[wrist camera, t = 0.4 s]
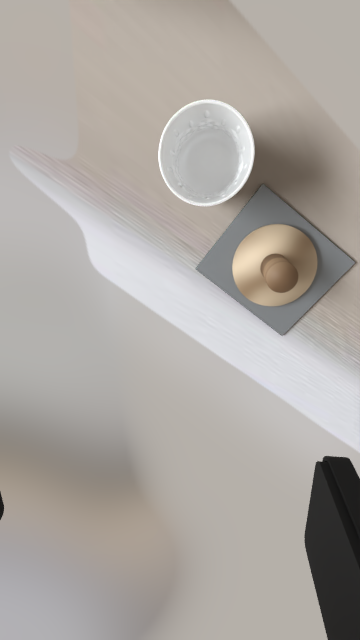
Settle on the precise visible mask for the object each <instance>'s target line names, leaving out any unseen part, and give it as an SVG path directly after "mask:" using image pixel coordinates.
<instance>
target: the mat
mask: <svg viewBox="0 0 360 640" xmlns="http://www.w3.org/2000/svg"><path fill="white" fill-rule="evenodd" d="M270 224H284V225H289V226H291V227H294V228H296V229H298V230H300V231H301V232H303V233H304V234H305V235H306V236H307V237H308V238H309V239H310V241H311V242H312V244H313V245H314V248H315V250H316V254H317V271H316V275H315V277H314V280H313V282H312V284H311V285H310V287H309V288H308V289H307V290H306V292H305V293H303V294H302V295H301V296H300V297H299V298H297V299H296V300H294V301H292V302H290V303H287V304H284V305H280V306H263V305H259V304H256V303H254V302H252V301H250V300H249V299H247V298H246V297H245V296H244V295H243V294H242V293H241V292H240V290H239V289H238V287H237V285H236V283H235V280H234V277H233V271H232V264H233V258H234V254H235V252H236V249H237V248H238V246H239V244H240V243H241V241H242V240H243V239H244V238H245V237H246V236H247V235H248V234H250V233H251V232H252V231H254V230H256V229H258V228H260V227H263V226H266V225H270ZM354 263H355V262H354V261H353V260H352V259H351V258H349V257H348V256H347V255H346V254H345V253H344V252H342V251H341V250H340V249H339V248H338V247H337V246H335V245H334V244H333V243H332V242H331V241H330V240H328V239H327V238H326V237H325V236H324V235H323V234H321V233H320V232H319V231H318V230H317V229H315V228H314V227H313V226H312V225H311V224H310V223H308V222H307V221H306V220H305V219H304V218H303V217H301V216H300V215H299V214H298V213H297V212H296V211H294V210H293V209H292V208H291V207H290V206H289V205H287V204H286V203H285V202H284V201H283V200H281V199H280V198H279V197H278V196H277V195H276V194H274V193H273V192H272V191H271V190H270V189H269V188H267V187H266V186H265V185H264V184H262V185H261V187H260V188H259V189H258V190H257V192H256V193H255V194H254V195H253V197H252V198H251V199H250V200H249V202H248V203H247V204H246V205H245V207H244V208H243V209H242V211H241V212H240V213H239V214H238V216H237V217H236V218H235V219H234V221H233V222H232V223H231V224H230V226H229V227H228V228H227V229H226V231H225V232H224V233H223V235H222V236H221V237H220V238H219V240H218V241H217V242H216V243H215V245H214V246H213V247H212V248H211V250H210V251H209V252H208V253H207V255H206V256H205V257H204V259H203V260H202V261H201V262H200V264H199V265H198V266H197V267H196V270H197V271H199V272H200V273H201V274H203V275H204V276H205V277H206V278H208V279H209V280H210V281H212V282H213V283H214V284H215V285H217V286H218V287H219V288H221V289H222V290H223V291H225V292H226V293H227V294H228V295H230V296H231V297H232V298H234V299H235V300H236V301H237V302H239V303H240V304H241V305H243V306H244V307H245V308H246V309H248V310H249V311H250V312H252V313H253V314H254V315H255V316H257V317H258V318H259V319H261V320H262V321H263V322H265V323H266V324H267V325H268V326H270V327H271V328H272V329H274V330H275V331H276V332H277V333H279V334H280V335H281V336H283V335H284V334H285V333H286V332H287V331H288V330H289V329H290V328H291V327H292V326H293V325H294V324H295V323H296V322H297V321H298V320H299V319H300V318H301V317H302V316H303V315H304V314H305V313H306V312H307V311H308V310H309V309H310V308H311V307H312V306H313V305H314V304H315V303H316V302H317V301H318V300H319V299H320V298H321V297H322V296H323V295H324V294H325V293H326V292H327V291H328V289H329V288H330V287H331V286H332V285H333V284H334V283H335V282H336V281H337V280H338V279H339V278H340V277H341V276H342V275H343V274H344V273H345V272H346V271H347V270H348V269H349V268H350V267H351V266H352V265H353V264H354Z"/></svg>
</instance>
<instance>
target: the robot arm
mask: <svg viewBox="0 0 360 640" xmlns="http://www.w3.org/2000/svg"><path fill="white" fill-rule="evenodd" d="M3 511H4V505H3V501H2V497H1V493H0V520H1V517H2V515H3ZM305 547H306V552H307V556H308V560H309V564H310V568H311V573H312V577H313V581H314V584H315V589H316V593H317V597H318V601H319V605H320V609H321V613H322V617H323V622H324V625H325V630H326V633H327V637H328V640H360V478H359V476H358V475H357V473H356V471H355V468H354V467H353V465H352V463H351V461H350V459H349V458H346V457H331V456H325V457H324V458H323V461H322V462H316V466H315V472H314V478H313V485H312V491H311V498H310V504H309V511H308V517H307V523H306V530H305Z"/></svg>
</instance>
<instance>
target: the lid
mask: <svg viewBox="0 0 360 640" xmlns="http://www.w3.org/2000/svg"><path fill="white" fill-rule="evenodd" d="M232 271H233V277H234V280H235V283H236V285H237V287H238V289H239V290H240V292H241V293H242V294H243V295H244V296H245V297H246V298H247V299H249V300H250V301H252V302H254V303H256V304H259V305H263V306H280V305H284V304H287V303H290V302H292V301H294V300H296V299H297V298H299V297H300V296H301V295H302V294H303V293H305V292H306V290H307V289H308V288H309V287H310V285H311V284H312V282H313V280H314V277H315V275H316V271H317V254H316V250H315V248H314V245H313V244H312V242H311V241H310V239H309V238H308V237H307V236H306V235H305V234H304V233H303V232H301V231H300V230H298V229H296V228H294V227H291V226H289V225H284V224H270V225H266V226H263V227H260V228H258V229H256V230H254V231H252V232H251V233H250V234H248V235H247V236H246V237H245V238H244V239H243V240H242V241H241V243H240V244H239V246H238V248H237V249H236V252H235V254H234V258H233V264H232Z"/></svg>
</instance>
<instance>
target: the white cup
mask: <svg viewBox="0 0 360 640" xmlns="http://www.w3.org/2000/svg"><path fill="white" fill-rule="evenodd" d="M158 155H159V166H160V170H161V173H162V176H163V178H164V180H165V182H166V184H167V186H168V187H169V188H170V190H171V191H172V192H173V193H174V194H175V195H176V196H177V197H179V198H180V199H182V200H183V201H185V202H187V203H190V204H193V205H197V206H213V205H217V204H220V203H223V202H225V201H227V200H228V199H230V198H231V197H233V196H234V195H235V194H236V193H237V192H238V191H239V190H240V189H241V188H242V187H243V186H244V184H245V183H246V181H247V179H248V177H249V175H250V173H251V170H252V167H253V163H254V156H255V146H254V139H253V135H252V132H251V129H250V127H249V125H248V123H247V121H246V120H245V119H244V117H243V116H242V115H241V114H240V113H239V112H238V111H237V110H236V109H235V108H233V107H232V106H230V105H228V104H226V103H224V102H221V101H217V100H199V101H195V102H192V103H190V104H188V105H186V106H184V107H183V108H181V109H180V110H179V111H178V112H177V113H176V114H175V115H174V116H173V117H172V118H171V119H170V121H169V122H168V123H167V125H166V127H165V129H164V131H163V133H162V136H161V140H160V144H159V154H158Z"/></svg>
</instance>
